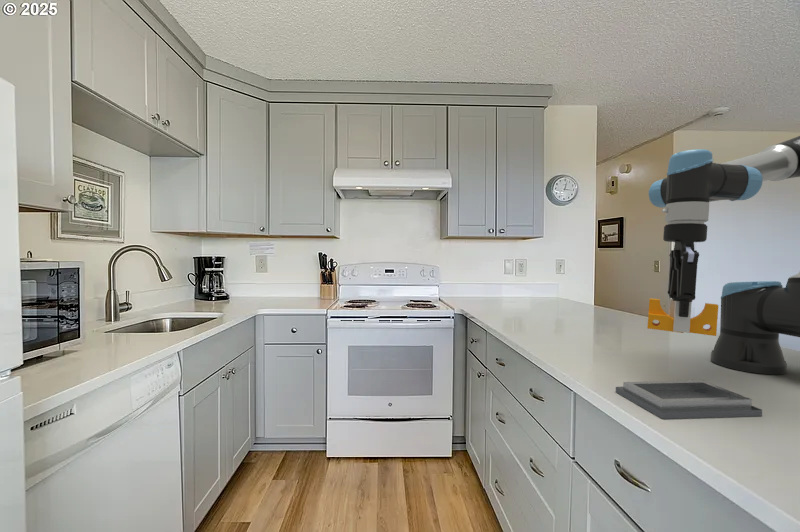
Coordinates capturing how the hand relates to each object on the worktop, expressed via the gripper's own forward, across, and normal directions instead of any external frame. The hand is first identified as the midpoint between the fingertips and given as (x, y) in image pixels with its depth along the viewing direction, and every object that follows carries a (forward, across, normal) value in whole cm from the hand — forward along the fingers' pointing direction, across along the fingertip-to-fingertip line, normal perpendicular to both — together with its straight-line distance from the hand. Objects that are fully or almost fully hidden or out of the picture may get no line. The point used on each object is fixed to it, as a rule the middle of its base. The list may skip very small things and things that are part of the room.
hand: (678, 329), depth 82 cm
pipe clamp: (+1, 0, 0) cm, 1 cm away
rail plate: (+14, +8, 0) cm, 16 cm away
